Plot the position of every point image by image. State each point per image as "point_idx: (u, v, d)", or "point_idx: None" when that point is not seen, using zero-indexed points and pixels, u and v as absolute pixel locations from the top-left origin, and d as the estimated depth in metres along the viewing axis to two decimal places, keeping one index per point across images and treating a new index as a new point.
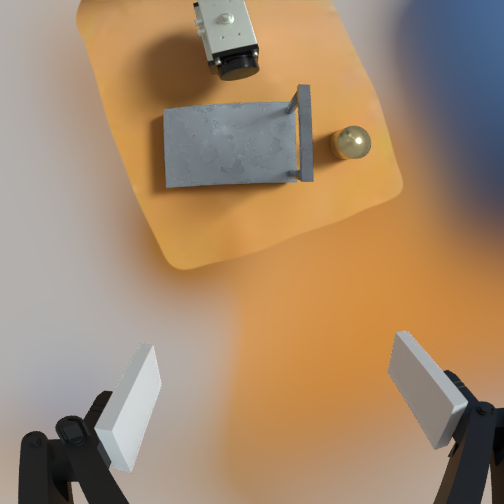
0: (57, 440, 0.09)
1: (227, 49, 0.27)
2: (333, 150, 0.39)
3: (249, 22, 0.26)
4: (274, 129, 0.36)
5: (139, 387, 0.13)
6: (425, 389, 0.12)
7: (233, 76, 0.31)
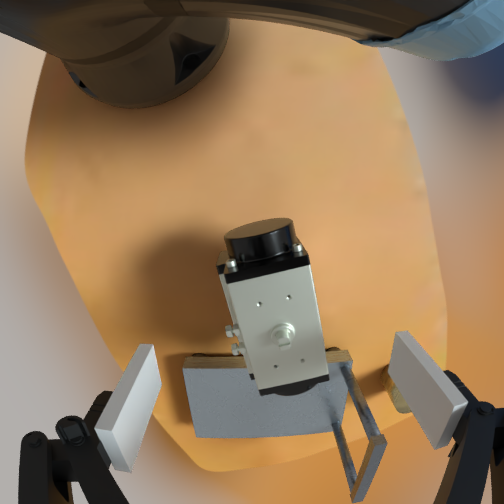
0: (57, 440, 0.09)
1: (282, 384, 0.19)
2: (384, 387, 0.31)
3: (321, 340, 0.18)
4: (324, 391, 0.29)
5: (139, 387, 0.13)
6: (425, 389, 0.12)
7: None
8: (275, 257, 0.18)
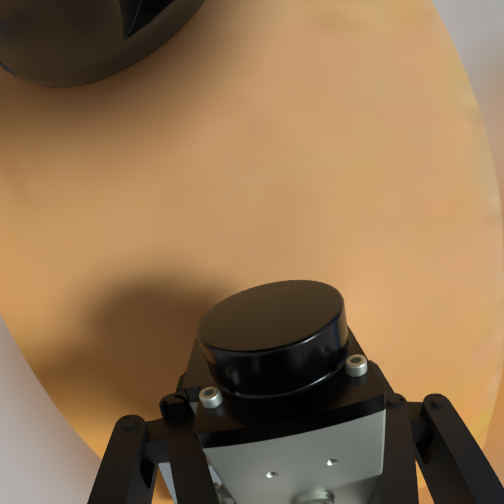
0: (151, 422, 0.11)
1: None
2: None
3: None
4: None
5: None
6: None
7: None
8: (310, 390, 0.07)
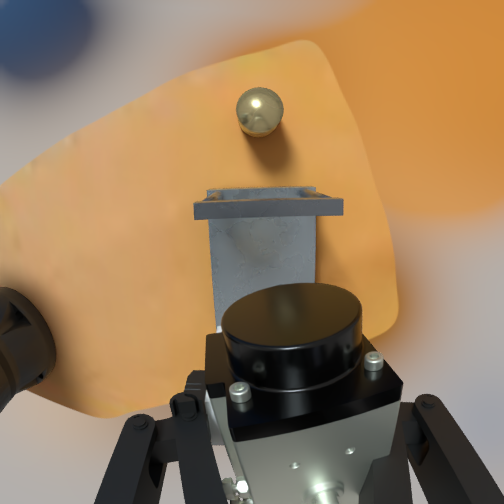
0: (160, 420, 0.11)
1: None
2: (268, 133, 0.29)
3: None
4: None
5: None
6: None
7: None
8: (334, 383, 0.08)
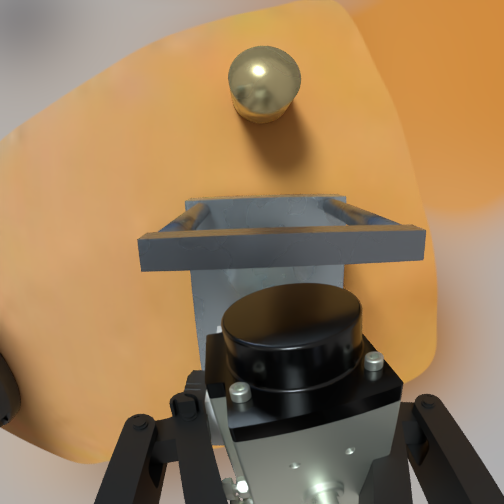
0: (160, 421, 0.11)
1: None
2: (276, 117, 0.20)
3: None
4: None
5: None
6: None
7: None
8: (334, 383, 0.08)
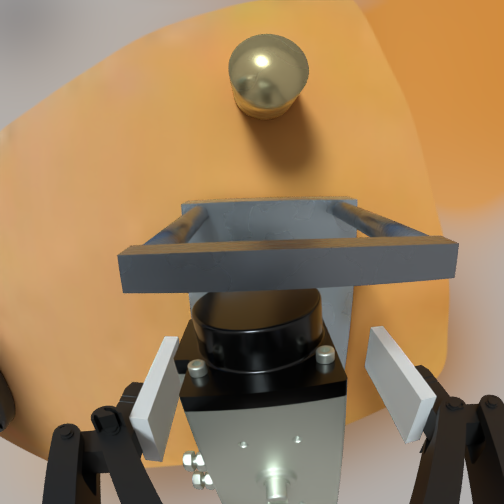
0: (89, 432, 0.10)
1: None
2: (281, 113, 0.18)
3: (335, 484, 0.09)
4: None
5: (168, 377, 0.14)
6: (396, 383, 0.13)
7: None
8: (282, 370, 0.09)
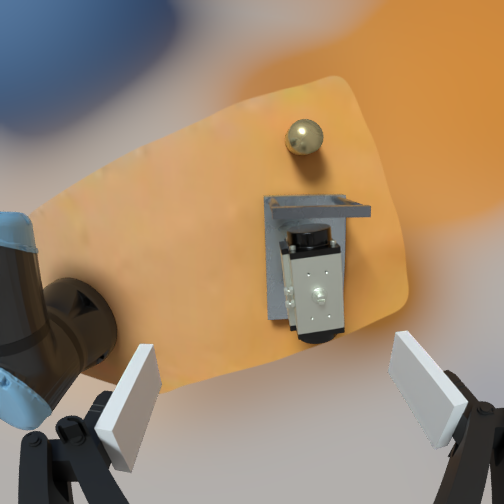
0: (57, 440, 0.09)
1: (314, 331, 0.30)
2: None
3: (342, 302, 0.29)
4: None
5: (139, 387, 0.13)
6: (425, 389, 0.12)
7: None
8: (320, 246, 0.29)
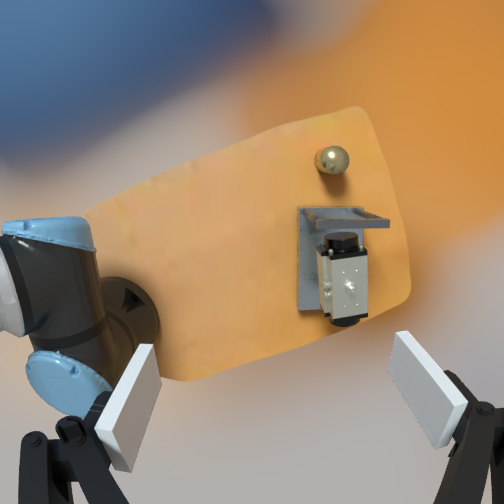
0: (57, 440, 0.09)
1: (345, 316, 0.38)
2: None
3: (367, 293, 0.37)
4: None
5: (139, 387, 0.13)
6: (425, 389, 0.12)
7: None
8: (351, 250, 0.37)
